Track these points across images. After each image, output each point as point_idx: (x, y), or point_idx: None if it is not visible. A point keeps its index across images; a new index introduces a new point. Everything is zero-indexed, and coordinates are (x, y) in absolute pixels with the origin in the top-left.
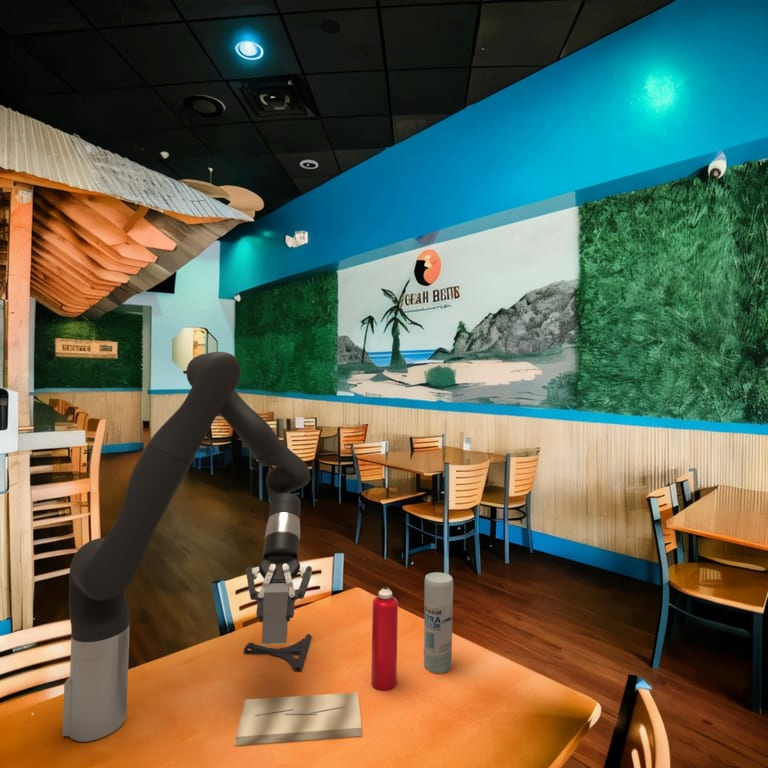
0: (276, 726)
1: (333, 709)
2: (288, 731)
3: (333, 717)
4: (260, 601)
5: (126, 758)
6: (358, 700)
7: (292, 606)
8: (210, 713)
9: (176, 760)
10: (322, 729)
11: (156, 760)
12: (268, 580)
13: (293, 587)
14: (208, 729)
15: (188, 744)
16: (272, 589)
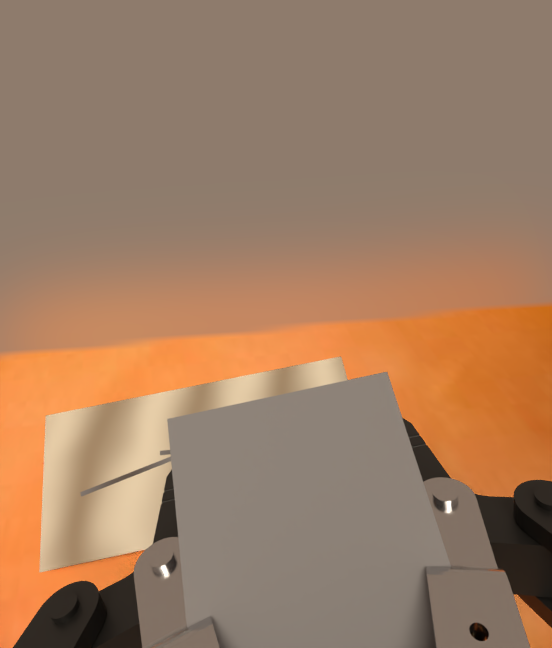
0: (256, 398)
1: (116, 479)
2: (223, 385)
3: (115, 446)
4: (427, 479)
5: (546, 310)
6: (41, 528)
7: (172, 505)
8: (459, 464)
9: (441, 315)
10: (141, 399)
11: (481, 311)
12: (456, 619)
13: (141, 632)
14: (428, 406)
15: (445, 357)
16: (333, 456)
